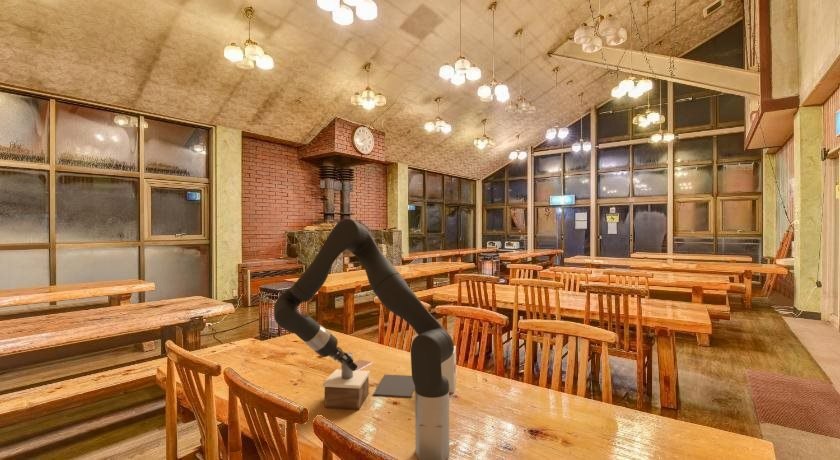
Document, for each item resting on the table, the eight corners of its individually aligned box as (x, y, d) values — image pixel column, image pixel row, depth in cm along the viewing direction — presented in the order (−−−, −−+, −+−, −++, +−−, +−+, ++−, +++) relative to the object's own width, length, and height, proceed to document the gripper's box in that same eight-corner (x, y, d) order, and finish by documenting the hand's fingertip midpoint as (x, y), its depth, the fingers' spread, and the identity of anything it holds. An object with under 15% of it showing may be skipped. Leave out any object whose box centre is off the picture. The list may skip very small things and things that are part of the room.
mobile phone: (373, 361, 170) (351, 373, 157) (373, 363, 170) (351, 375, 157) (359, 358, 174) (337, 369, 161) (359, 361, 174) (337, 372, 161)
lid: (359, 393, 126) (359, 361, 126) (322, 391, 128) (322, 360, 128) (370, 377, 139) (369, 349, 139) (336, 375, 141) (335, 347, 141)
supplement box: (454, 393, 139) (454, 353, 139) (430, 391, 141) (429, 351, 141) (456, 383, 148) (456, 345, 148) (434, 381, 150) (433, 344, 149)
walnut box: (358, 409, 127) (358, 389, 127) (324, 407, 129) (324, 387, 129) (368, 394, 139) (368, 375, 139) (337, 392, 141) (337, 373, 141)
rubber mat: (411, 397, 136) (411, 396, 136) (373, 395, 138) (373, 393, 138) (418, 377, 154) (418, 376, 154) (384, 375, 156) (384, 374, 156)
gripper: (338, 335, 123) (369, 362, 132) (317, 326, 134) (347, 353, 142) (323, 355, 120) (356, 382, 128) (303, 345, 130) (335, 370, 139)
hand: (351, 366), depth 135 cm, fingers closed on lid, 4 cm apart
